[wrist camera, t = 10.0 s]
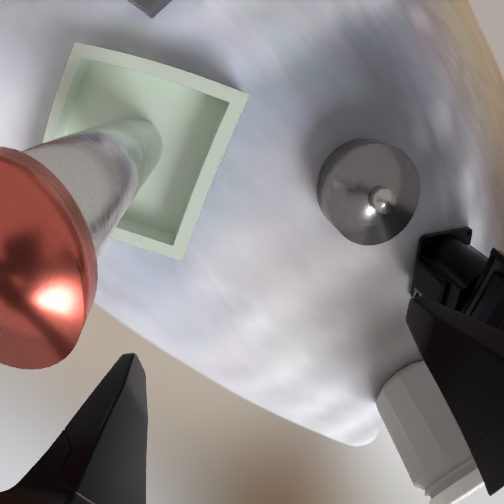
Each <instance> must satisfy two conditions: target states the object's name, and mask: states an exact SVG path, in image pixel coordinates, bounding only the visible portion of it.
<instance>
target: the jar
mask: <svg viewBox="0 0 504 504" xmlns="http://www.w3.org/2000/svg"><path fill="white" fill-rule="evenodd" d="M376 405H377V408H378V411H379V413H380V415H381V417H382V419H383V421H384V423H385V425H386V427H387V429H388V431H389V433H390V436H391V438H392V439H393V442H394V444H395V446H396V448H397V450H398V452H399V454H400V456H401V458H402V460H403V463H404V465H405V467H406V469H407V471H408V473H409V476H410V478H411V480H412V482H413V484H414V486H415V487H418V488H420V489H423V490H426V491H425V496H429V495H430V496H431V500H430V501H429V504H456V503H458V502H460V501H461V500H463V499H465V498H466V497H468V496H469V495H471V494H472V493H473V492H475V491H476V490H478V489H479V488H481V487H482V486H484V485H485V484H484V481H483V479H482V477H481V474H480V472H479V470H478V467H477V465H476V463H475V461H474V458H473V456H472V454H471V452H470V451H471V450H470V449H469V447H468V445H467V443H466V441H465V439H464V436H463V434H462V432H461V430H460V428H459V426H458V424H457V422H456V420H455V418H454V416H453V414H452V412H451V410H450V408H449V406H448V404H447V402H446V400H445V399H444V397H443V395H442V393H441V391H440V389H439V387H438V385H437V384H436V382H435V380H434V378H433V376H432V374H431V373H430V371H429V369H428V367H427V366H426V364H425V362H424V361H420V362H415V363H411V364H410V365H408V366H406V367H404V368H403V369H401V370H399V371H397V372H396V373H395V374H394V375H393V376H392V377H391V378H390V379H389V380H388V381H387V382H385V383H384V385H383V387H382V389H381V391H380V393H379V395H378V398H377V401H376Z"/></svg>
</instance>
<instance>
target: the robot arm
mask: <svg viewBox="0 0 504 504" xmlns="http://www.w3.org/2000/svg"><path fill="white" fill-rule="evenodd" d="M471 236H472V229H470V228H469V227H464V228H459V229H454V230H449V231H443V232H438V233H433V234H428V235H424V236H422V237H421V238H420V241H419V248H418V255H417V261H416V268H415V274H414V279H413V285H412V290H411V297H412V298H411V299H410V301H409V305H408V310H407V314H406V322H407V325H408V327H409V329H410V332H411V334H412V336H413V338H414V340H415V343H416V345H417V347H418V349H419V352H420V354H421V356H422V358H423V360H424V362H425V364H426V366H427V367H428V369H429V371H430V373H431V374H432V376H433V378H434V380H435V382H436V384H437V385H438V387H439V389H440V391H441V393H442V395H443V397H444V399H445V400H446V402H447V404H448V406H449V408H450V410H451V412H452V414H453V416H454V418H455V420H456V422H457V424H458V426H459V428H460V430H461V432H462V434H463V436H464V439H465V441H466V443H467V445H468V447H469V449H470V450H471V451H470V452H471V454H472V456H473V458H474V461H475V463H476V465H477V467H478V470H479V472H480V474H481V477H482V479H483V481H484V484H485V486H486V489H487V491H488V493H489V495H490V496H492V495H493V494H495V493H496V492H497V491H499V490H500V489H501V488H503V487H504V253H503V252H501V251H499V250H497V249H495V248H492V250H491V252H490V254H491V255H490V257H489V259H488V258H487V257H486V256H484V255H483V254H482V253H480V252H479V251H478V250H476V249H475V248H474V247H472V246H471V245H470V242H471ZM425 240H426V241H425ZM424 242H425V243H424ZM416 293H417V294H416ZM415 294H416V295H415ZM147 414H148V412H147V396H146V376H145V371H144V369H143V367H142V365H141V363H140V361H139V359H138V357H137V355H136V354H135V353H128V354H123V355H122V356H121V357H120V358H119V360H118V361H117V362H116V363H115V364H114V366H113V367H112V368H111V369H110V371H109V372H108V373H107V374H106V376H105V377H104V378H103V380H102V381H101V382H100V383H99V385H98V386H97V387H96V388H95V390H94V391H93V392H92V394H91V395H90V396H89V397H88V399H87V400H86V401H85V403H84V404H83V405H82V406H81V408H80V409H79V410H78V412H77V413H76V414H75V416H74V417H73V418H72V419H71V421H70V422H69V423H68V425H67V426H66V427H65V430H63V431H62V433H61V434H60V435H59V437H58V438H57V439H56V441H55V442H54V443H53V444H52V446H51V447H50V448H49V449H48V451H47V452H46V453H45V454H44V455H43V456H42V457H41V458H40V460H39V461H38V462H37V463H36V464H35V465H34V466H33V467H32V468H31V469H30V471H29V472H28V473H27V474H26V475H25V476H24V477H23V478H22V479H21V481H19V482H18V483H17V484H16V485H15V486H14V487H12V488H11V489H9V490H6V491H3V492H0V504H146V450H147V426H148V425H147V424H148V415H147Z"/></svg>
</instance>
